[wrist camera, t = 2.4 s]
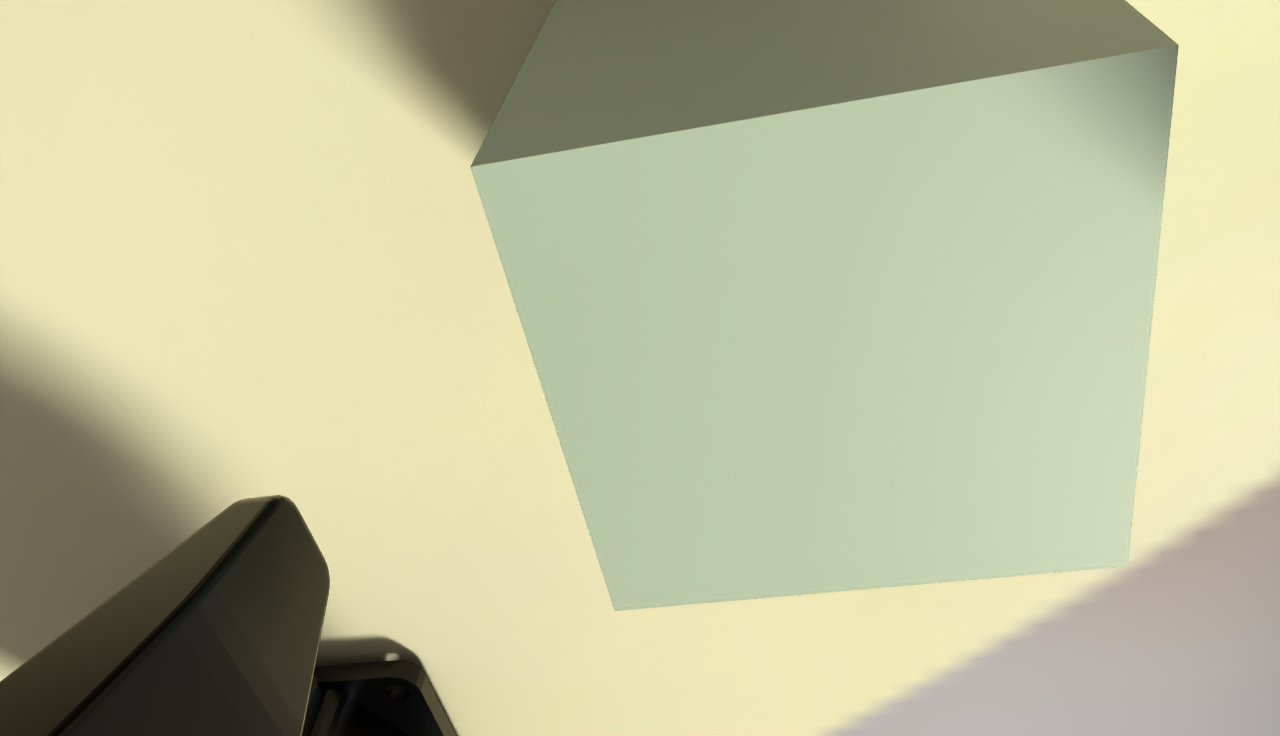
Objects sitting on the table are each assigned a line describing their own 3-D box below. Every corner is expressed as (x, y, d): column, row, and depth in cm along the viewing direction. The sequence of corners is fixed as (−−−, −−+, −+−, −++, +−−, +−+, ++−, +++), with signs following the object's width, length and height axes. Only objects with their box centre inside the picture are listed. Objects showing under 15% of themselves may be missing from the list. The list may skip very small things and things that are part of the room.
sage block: (989, 258, 14) (1127, 565, 9) (650, 306, 15) (614, 610, 10) (986, -117, 12) (1178, 44, 7) (571, -30, 12) (469, 166, 7)
